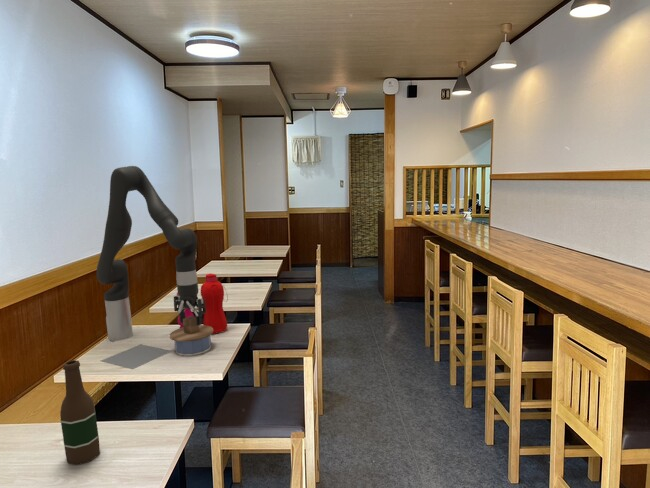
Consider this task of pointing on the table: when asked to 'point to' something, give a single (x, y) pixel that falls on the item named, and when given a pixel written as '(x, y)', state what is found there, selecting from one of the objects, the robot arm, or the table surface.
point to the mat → (136, 356)
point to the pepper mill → (187, 314)
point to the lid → (191, 331)
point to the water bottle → (214, 304)
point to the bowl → (193, 346)
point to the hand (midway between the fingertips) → (191, 323)
